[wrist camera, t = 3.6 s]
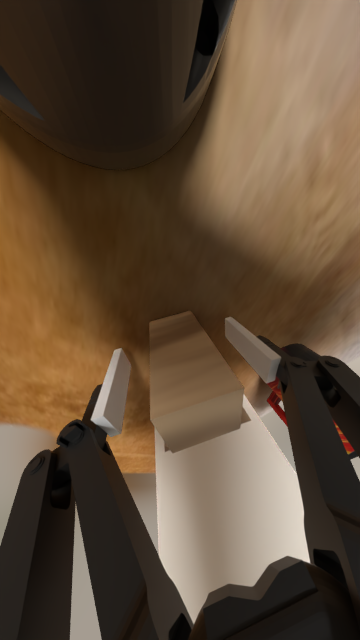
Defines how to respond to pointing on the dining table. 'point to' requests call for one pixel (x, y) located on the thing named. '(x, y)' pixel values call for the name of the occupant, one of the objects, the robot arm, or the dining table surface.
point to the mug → (276, 396)
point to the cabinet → (226, 510)
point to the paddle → (190, 384)
